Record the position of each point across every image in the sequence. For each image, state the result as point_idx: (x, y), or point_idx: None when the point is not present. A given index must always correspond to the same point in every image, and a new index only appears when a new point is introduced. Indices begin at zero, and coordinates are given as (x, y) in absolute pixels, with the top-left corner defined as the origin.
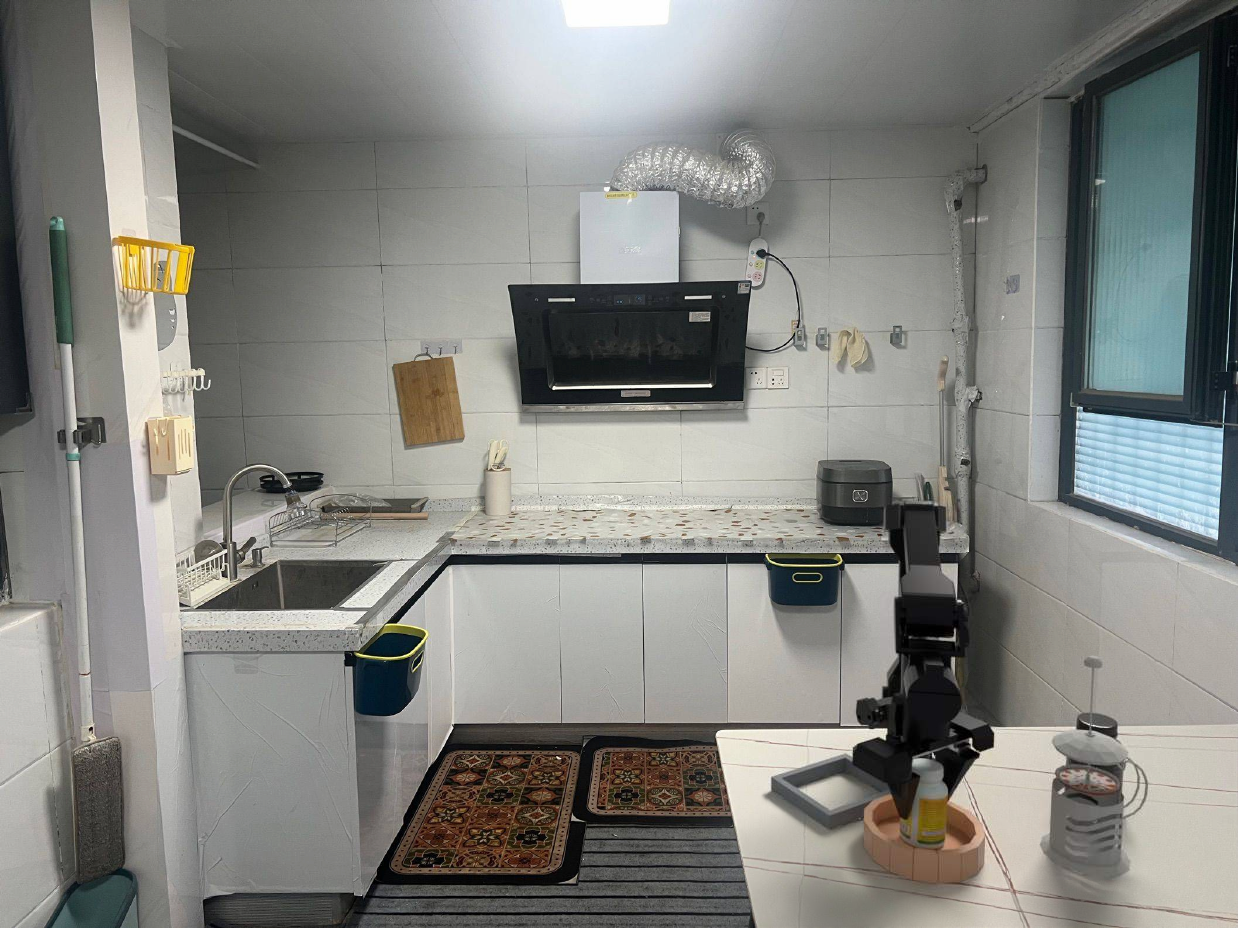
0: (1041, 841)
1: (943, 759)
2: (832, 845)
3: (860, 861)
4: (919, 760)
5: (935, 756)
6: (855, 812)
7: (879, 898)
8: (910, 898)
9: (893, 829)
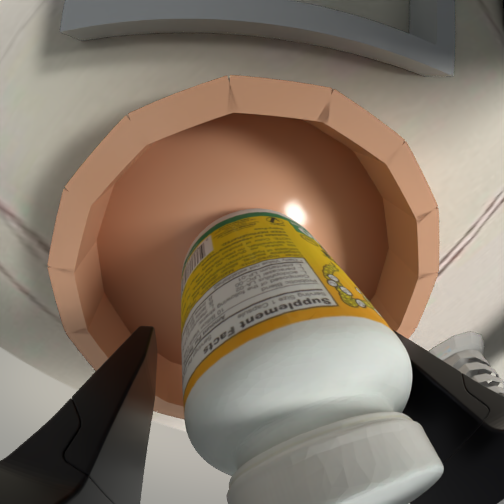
0: (439, 346)
1: (466, 469)
2: (34, 115)
3: (51, 215)
4: (385, 496)
5: (495, 435)
6: (196, 25)
7: (27, 326)
8: (80, 355)
9: (226, 177)
